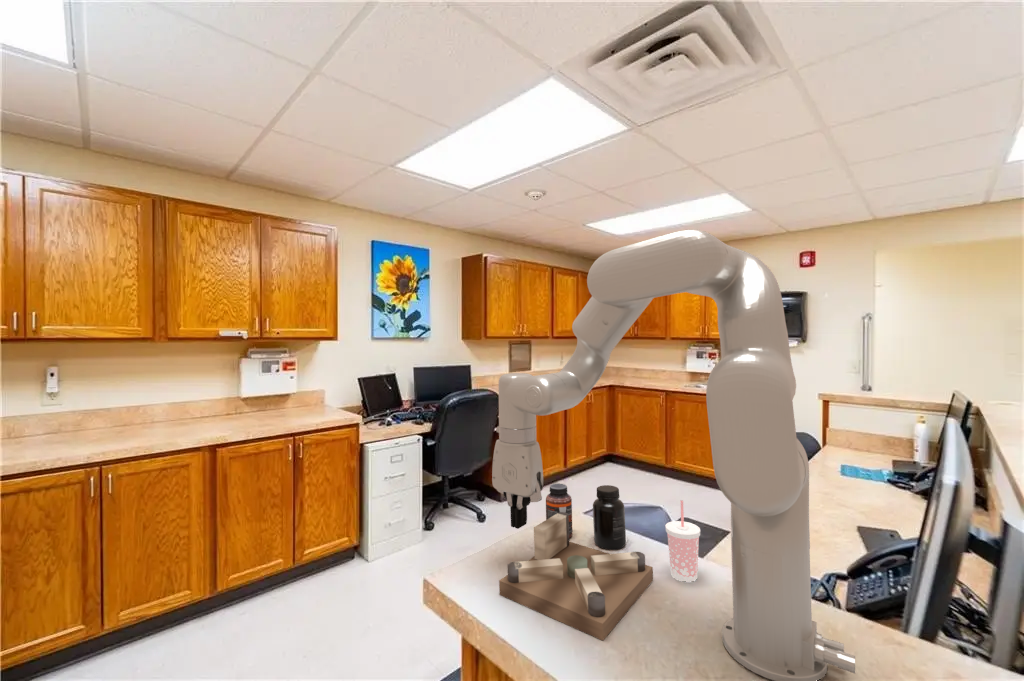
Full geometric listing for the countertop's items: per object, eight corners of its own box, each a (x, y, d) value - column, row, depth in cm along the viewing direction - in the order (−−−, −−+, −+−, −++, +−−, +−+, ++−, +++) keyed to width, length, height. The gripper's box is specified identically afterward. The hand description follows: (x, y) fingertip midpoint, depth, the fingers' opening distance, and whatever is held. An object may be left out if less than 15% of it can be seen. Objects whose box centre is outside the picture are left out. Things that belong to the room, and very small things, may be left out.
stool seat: (653, 580, 80) (652, 553, 80) (603, 640, 64) (602, 607, 64) (560, 550, 92) (559, 527, 92) (499, 594, 77) (498, 566, 77)
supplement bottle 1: (571, 542, 96) (569, 491, 96) (544, 540, 97) (543, 489, 97) (573, 530, 102) (572, 482, 102) (548, 529, 103) (547, 481, 103)
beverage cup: (692, 588, 77) (689, 509, 77) (660, 575, 81) (658, 500, 81) (707, 575, 81) (705, 500, 81) (676, 563, 85) (674, 492, 86)
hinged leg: (561, 539, 91) (560, 511, 91) (571, 543, 90) (571, 513, 90) (534, 558, 84) (533, 527, 84) (545, 562, 82) (544, 530, 82)
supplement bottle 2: (623, 536, 98) (621, 483, 98) (628, 551, 91) (626, 493, 91) (592, 536, 99) (591, 483, 99) (595, 550, 92) (593, 493, 92)
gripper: (477, 433, 89) (478, 522, 89) (537, 443, 80) (538, 543, 80) (501, 427, 95) (502, 510, 95) (559, 436, 86) (560, 528, 86)
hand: (518, 525), depth 88 cm, fingers closed
